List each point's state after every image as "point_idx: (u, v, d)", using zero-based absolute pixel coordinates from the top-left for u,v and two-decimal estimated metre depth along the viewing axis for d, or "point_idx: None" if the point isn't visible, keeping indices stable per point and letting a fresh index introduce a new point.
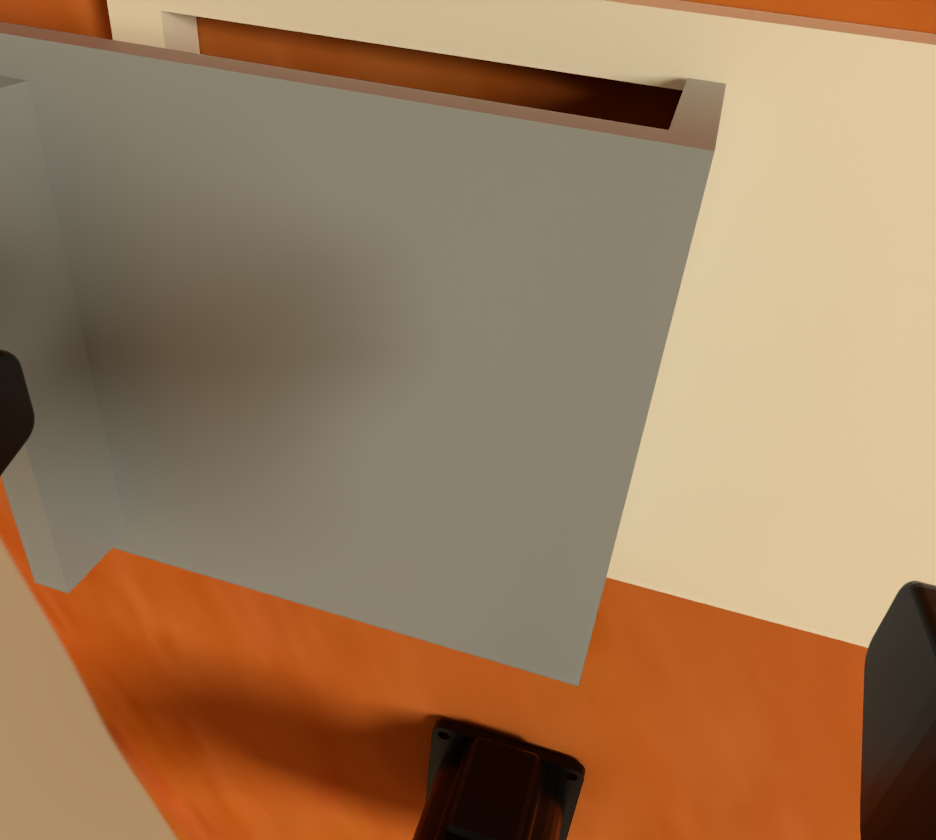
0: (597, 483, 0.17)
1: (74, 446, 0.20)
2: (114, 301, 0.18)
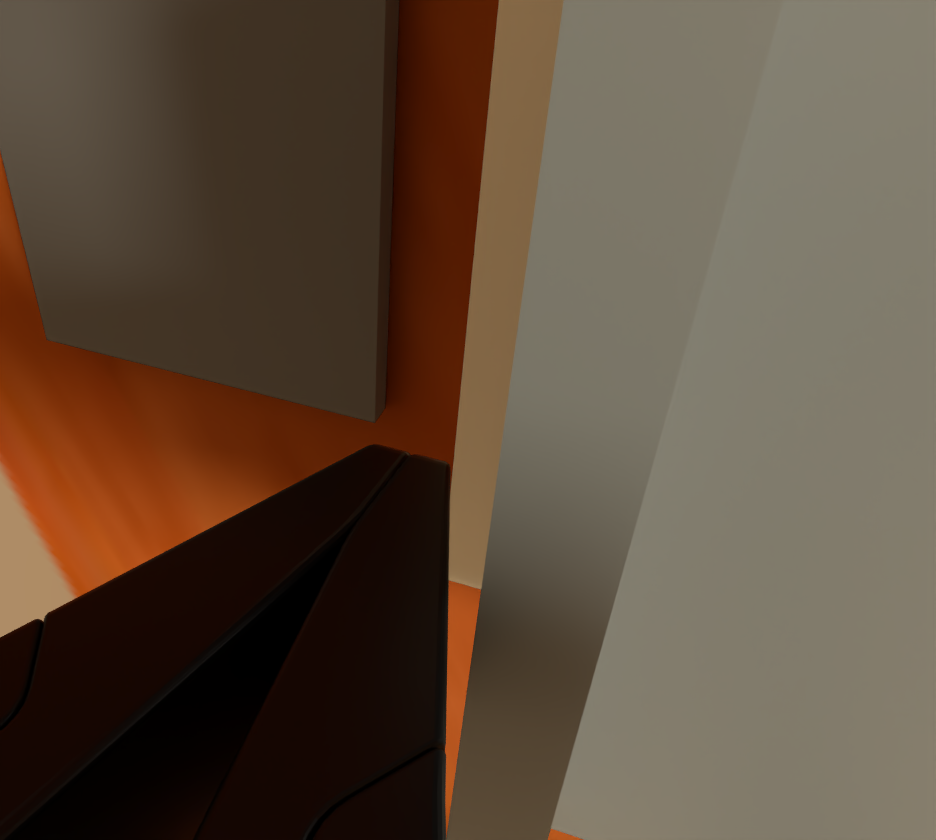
0: None
1: None
2: (789, 382, 0.07)
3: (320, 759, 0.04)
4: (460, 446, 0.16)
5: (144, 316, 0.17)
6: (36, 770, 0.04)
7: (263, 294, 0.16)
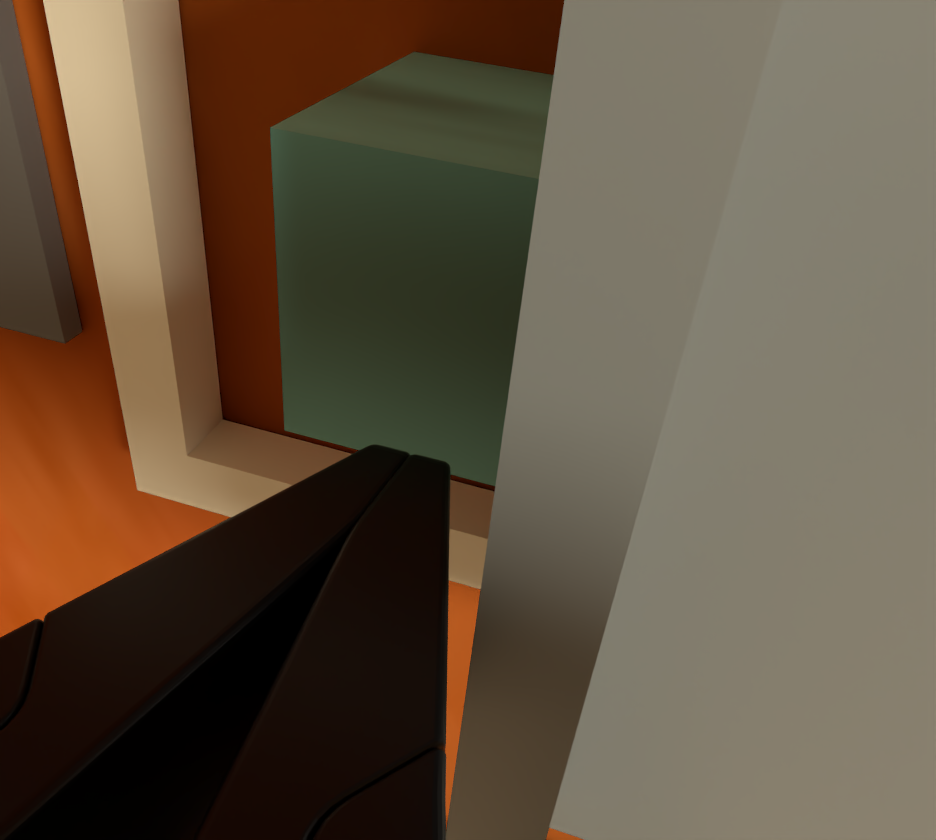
0: None
1: None
2: (787, 384, 0.07)
3: (320, 759, 0.04)
4: (115, 358, 0.17)
5: None
6: (36, 770, 0.04)
7: None
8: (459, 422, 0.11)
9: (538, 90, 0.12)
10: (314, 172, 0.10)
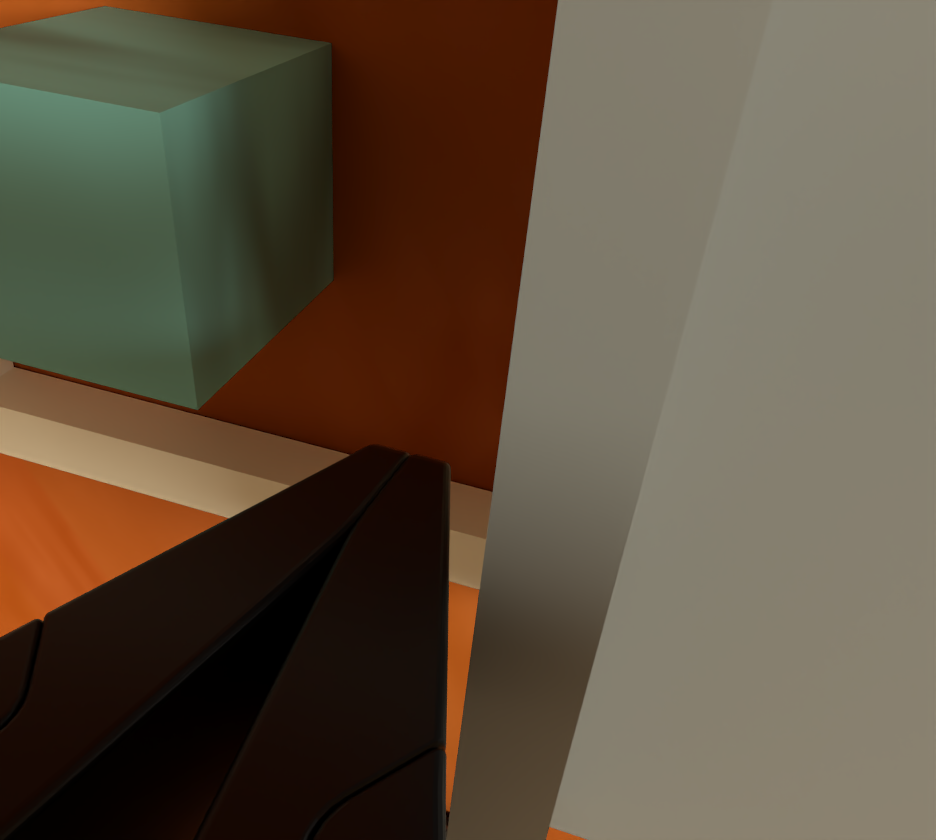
0: None
1: None
2: (784, 383, 0.07)
3: (320, 760, 0.04)
4: None
5: None
6: (36, 769, 0.04)
7: None
8: (85, 331, 0.12)
9: (186, 36, 0.13)
10: None
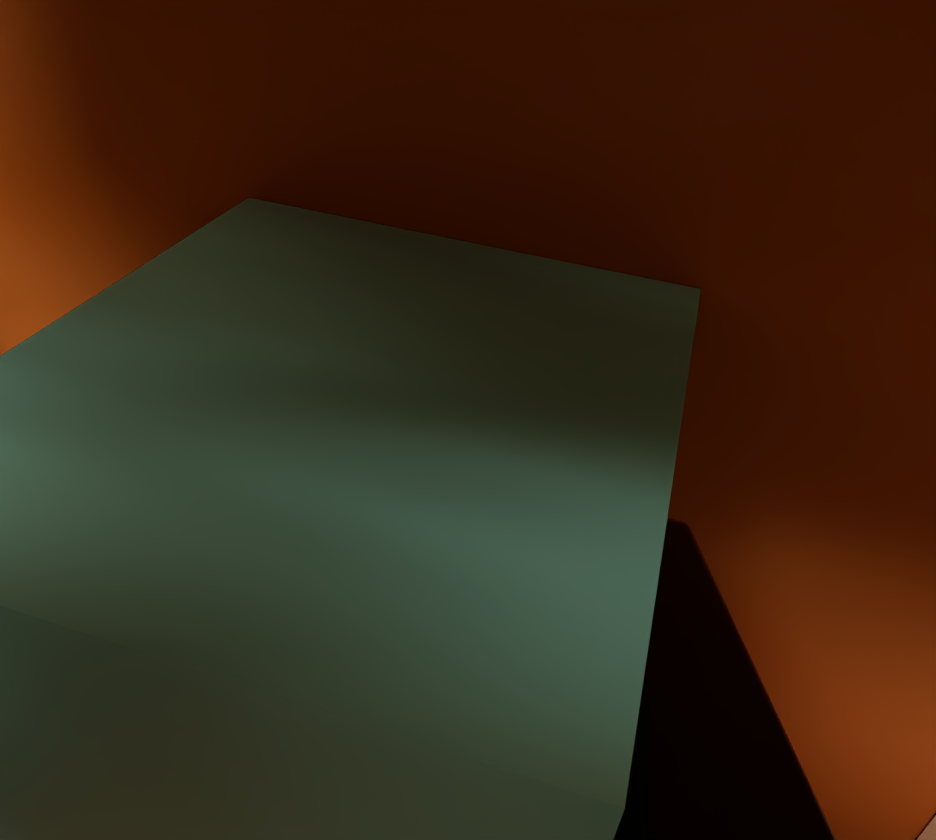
0: None
1: None
2: None
3: None
4: None
5: None
6: None
7: None
8: None
9: None
10: None
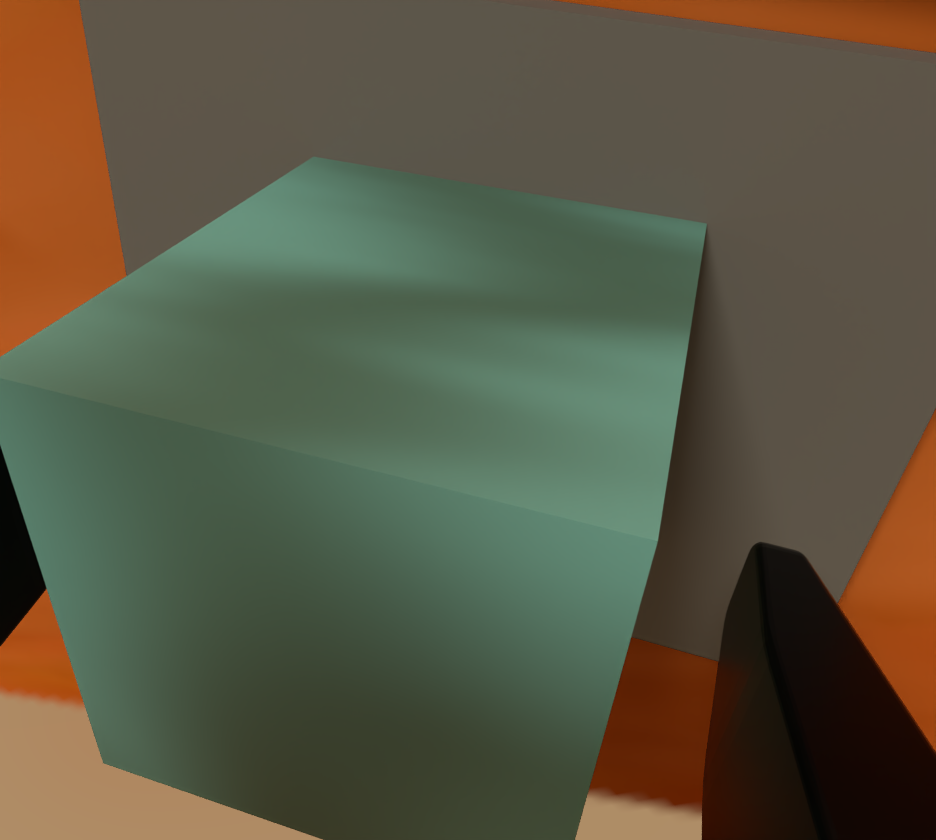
0: None
1: None
2: None
3: None
4: None
5: (761, 517, 0.10)
6: None
7: (726, 288, 0.09)
8: (470, 695, 0.06)
9: None
10: (133, 742, 0.07)
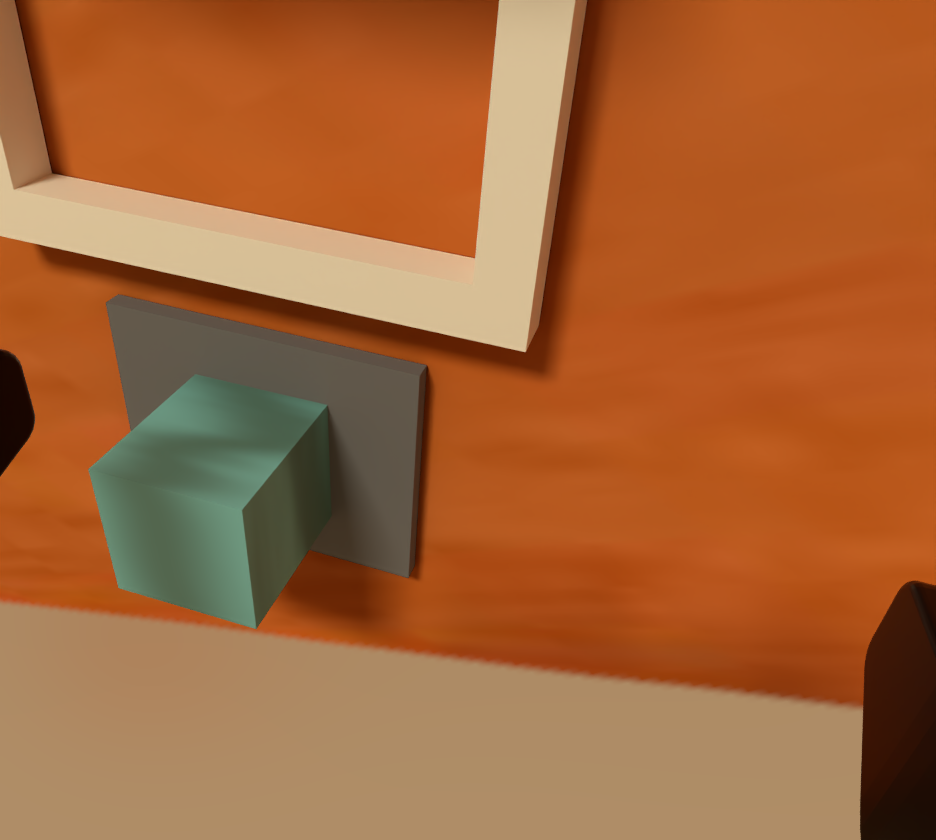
0: None
1: None
2: None
3: None
4: (386, 317, 0.21)
5: (374, 507, 0.26)
6: None
7: (339, 425, 0.25)
8: (216, 552, 0.21)
9: None
10: (128, 578, 0.23)
